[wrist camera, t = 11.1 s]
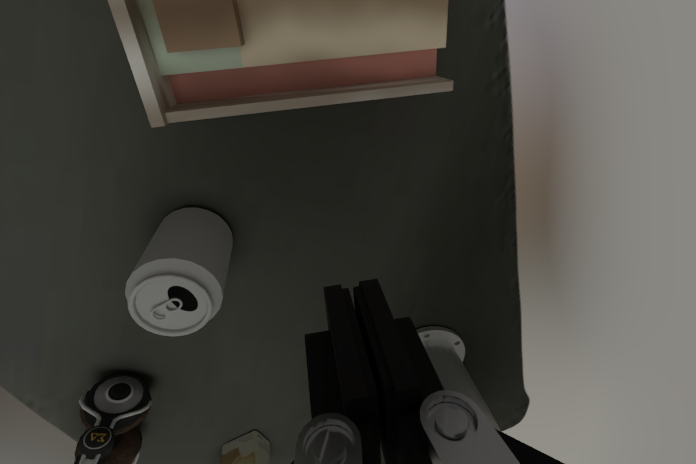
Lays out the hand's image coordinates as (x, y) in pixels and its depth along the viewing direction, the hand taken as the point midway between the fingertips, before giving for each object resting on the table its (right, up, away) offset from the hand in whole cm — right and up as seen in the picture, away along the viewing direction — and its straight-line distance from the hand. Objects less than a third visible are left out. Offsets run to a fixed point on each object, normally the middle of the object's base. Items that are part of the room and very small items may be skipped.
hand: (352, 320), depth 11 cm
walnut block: (-11, +20, +16) cm, 28 cm away
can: (-16, +2, +28) cm, 32 cm away
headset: (-30, -20, +38) cm, 52 cm away
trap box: (-5, +22, +19) cm, 29 cm away
